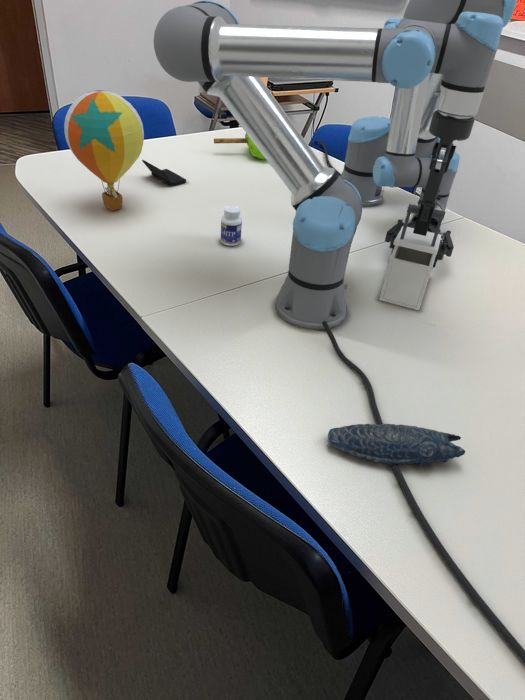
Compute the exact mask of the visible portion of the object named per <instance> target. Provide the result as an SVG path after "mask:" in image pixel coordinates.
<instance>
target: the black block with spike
mask: <svg viewBox="0 0 525 700" xmlns="http://www.w3.org/2000/svg"><path fill="white" fill-rule="evenodd" d="M141 161H142V163H143V164H144V165H145V167H147V169H148V170H149V171H150V172H151V174H150V175H151V176H153V177H155V178H156V179H158V180H160V181H162V182H163V183H165V184H167V185H168V186H170V187H172V186H177V185H180V184H184V183H185V184H186V183H187V179H186V178H184V177H183V176H181V175H179V174H177V173H175V172H173V171H172V170H170V169H168V168H164V169H161V168H159V167H157V166H155V165H153V164H151V163H150V162H148V161H146V160H145V159H142V160H141Z"/></svg>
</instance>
